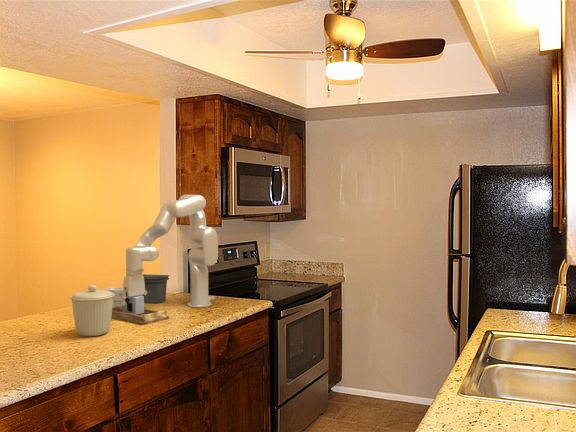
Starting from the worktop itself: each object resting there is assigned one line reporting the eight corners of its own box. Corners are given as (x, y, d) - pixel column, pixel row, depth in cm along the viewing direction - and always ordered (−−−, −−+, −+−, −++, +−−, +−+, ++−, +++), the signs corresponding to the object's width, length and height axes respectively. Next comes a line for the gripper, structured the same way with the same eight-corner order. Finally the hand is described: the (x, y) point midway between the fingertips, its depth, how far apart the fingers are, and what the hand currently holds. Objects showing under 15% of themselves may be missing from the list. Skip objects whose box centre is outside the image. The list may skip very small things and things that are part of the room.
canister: (81, 328, 243) (80, 281, 242) (121, 328, 243) (120, 281, 242) (63, 339, 225) (62, 288, 224) (106, 339, 225) (105, 288, 224)
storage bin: (124, 303, 298) (124, 277, 298) (138, 297, 313) (138, 273, 313) (161, 305, 294) (160, 278, 293) (173, 299, 309) (172, 274, 308)
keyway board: (129, 310, 279) (129, 302, 279) (169, 318, 262) (169, 310, 261) (102, 316, 266) (102, 307, 266) (142, 325, 249) (142, 316, 248)
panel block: (133, 310, 269) (133, 294, 268) (144, 312, 264) (143, 296, 264) (125, 312, 265) (124, 295, 264) (135, 314, 260) (135, 297, 260)
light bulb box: (129, 307, 287) (129, 287, 286) (124, 310, 280) (123, 289, 279) (109, 307, 288) (109, 286, 287) (104, 310, 281) (103, 289, 280)
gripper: (143, 269, 273) (143, 306, 273) (114, 274, 259) (114, 312, 260) (153, 271, 268) (153, 307, 269) (124, 275, 254) (124, 314, 255)
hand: (134, 309), depth 264 cm, fingers closed on panel block, 5 cm apart
